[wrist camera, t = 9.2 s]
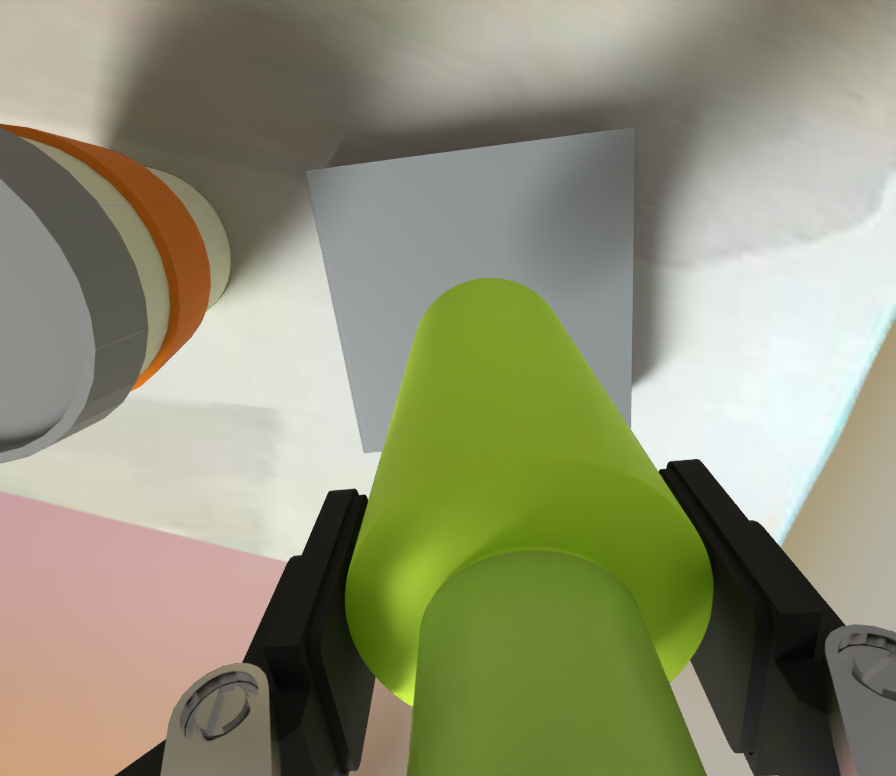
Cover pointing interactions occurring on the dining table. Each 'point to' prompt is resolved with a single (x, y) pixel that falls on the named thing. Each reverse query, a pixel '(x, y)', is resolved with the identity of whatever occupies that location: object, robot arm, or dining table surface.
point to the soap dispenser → (524, 558)
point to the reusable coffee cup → (93, 281)
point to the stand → (479, 251)
